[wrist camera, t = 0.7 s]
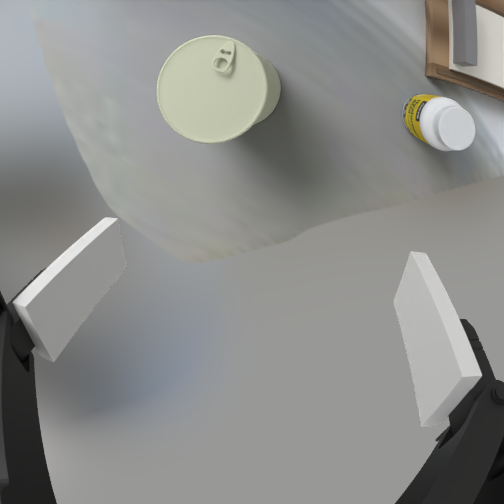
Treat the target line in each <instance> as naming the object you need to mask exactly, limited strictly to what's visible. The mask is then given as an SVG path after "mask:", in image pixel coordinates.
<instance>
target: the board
mask: <svg viewBox="0 0 504 504" xmlns="http://www.w3.org/2000/svg"><path fill="white" fill-rule="evenodd" d="M475 4H476V5H478V6H480V7H482V8H485V9H487V10H489V11H491V12H493V13H495V14H497V15H499V16H501V17H503V18H504V0H475ZM425 7H426V71H425V76H429V77H433V78H436V79H440V80H443V81H447V82H450V83H453V84H457V85H460V86H463V87H466V88H469V89H472V90H475V91H478V92H481V93H483V94H486V95H489V96H491V97H494V98H496V99H499V100H501V101H504V89H503V88H500V87H498V86H495V85H493V84H490V83H488V82H485V81H483V80H480V79H477V78H475V77H472V76H469V75H466V74H463V73H460V72H457V71H454V70H451V69H449V12H448V0H425Z"/></svg>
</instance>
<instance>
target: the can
mask: <svg viewBox="0 0 504 504" xmlns="http://www.w3.org/2000/svg"><path fill="white" fill-rule="evenodd" d="M280 92H281V84H280V79H279V76H278V73H277V71H276V69H275V68H274V66H273V65H272V64H271V63H270V62H269V61H268V60H267V59H266V58H265V57H263V56H262V55H260V54H258V53H255V52H253V51H252V50H251V49H250V48H249V47H248V46H247V45H245V44H243V43H242V42H240V41H238V40H236V39H233V38H230V37H226V36H220V35H209V36H202V37H198V38H195V39H192V40H190V41H188V42H186V43H184V44H183V45H181V46H180V47H179V48H177V49H176V50H175V51H174V52H173V53H172V54H171V55H170V56H169V57H168V59H167V60H166V62H165V63H164V65H163V67H162V69H161V71H160V74H159V78H158V82H157V100H158V105H159V108H160V111H161V113H162V115H163V117H164V118H165V120H166V122H167V123H168V124H169V125H170V127H171V128H172V129H173V130H175V131H176V132H177V133H178V134H180V135H181V136H183V137H185V138H187V139H189V140H191V141H195V142H198V143H205V144H217V143H223V142H227V141H230V140H233V139H235V138H237V137H239V136H241V135H242V134H244V133H245V132H246V131H248V130H249V129H250V128H251V127H252V126H253V125H254V124H257V123H259V122H261V121H262V120H264V119H265V118H266V117H268V116H269V115H270V114H271V113H272V111H273V110H274V109H275V107H276V105H277V103H278V101H279V97H280Z"/></svg>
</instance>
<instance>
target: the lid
mask: <svg viewBox="0 0 504 504" xmlns="http://www.w3.org/2000/svg"><path fill="white" fill-rule="evenodd" d="M448 12H449V69H451V70H454V71H457V72H460V73H463V74H466V75H469V76H472V77H475V78H477V79H480V80H483V81H485V82H488V83H490V84H493V85H495V86H498V87H500V88H503V89H504V18H503V17H501V16H499V15H497V14H495V13H493V12H491V11H489V10H487V9H485V8H482V7H480V6H478V5H476V4H475V0H448Z"/></svg>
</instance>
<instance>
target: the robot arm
mask: <svg viewBox="0 0 504 504" xmlns="http://www.w3.org/2000/svg"><path fill="white" fill-rule="evenodd" d="M126 268H127V265H126V260H125V255H124V250H123V245H122V239H121V233H120V228H119V222H118V219H117V218H104V219H103V220H101V221H100V222H99V223H98V224H97V225H95V226H94V227H93V228H92V229H91V230H90V231H88V232H87V233H86V234H85V235H83V236H82V237H81V238H80V239H79V240H78V241H76V242H75V243H74V244H73V245H72V246H71V247H70V248H68V249H67V250H66V251H65V252H64V253H63V254H62V255H61V256H60V257H59V258H57V259H56V260H55V261H54V262H53V263H52V264H51V265H50V266H49V267H47V268H45V269H44V270H42V271H40V272H39V273H38V274H37V275H36V276H35V277H34V279H33V280H31V281H30V282H29V283H28V285H26V286H25V287H24V288H23V289H22V290H21V291H20V292H19V293H18V294H17V295H16V296H15V297H14V298H13V299H12V300H11V301H10V302H9V303H8V304H7V305H6V303H5V301H4V298H3V296H2V294H1V292H0V504H57V503H56V499H55V496H54V492H53V489H52V485H51V481H50V477H49V472H48V468H47V464H46V459H45V454H44V448H43V443H42V437H41V431H40V424H39V417H38V408H37V398H36V387H35V371H34V356H33V354H32V352H31V350H32V349H33V348H34V346H35V347H36V349H37V351H38V352H39V354H40V356H41V357H43V358H45V359H48V360H50V361H52V362H54V361H55V360H56V359H57V357H58V356H59V354H60V353H61V352H62V350H63V349H64V347H65V346H66V344H67V343H68V342H69V341H70V339H71V338H72V337H73V335H74V334H75V333H76V331H77V330H78V329H79V327H80V326H81V325H82V323H83V322H84V321H85V319H86V318H87V317H88V315H89V314H90V313H91V312H92V310H93V309H94V308H95V306H96V305H97V304H98V302H99V301H100V300H101V299H102V298H103V296H104V295H105V294H106V293H107V291H108V290H109V289H110V288H111V287H112V285H113V284H114V283H115V282H116V280H117V279H118V278H119V277H120V276H121V274H122V273H123V272H124V271H125V270H126ZM393 303H394V306H395V310H396V313H397V317H398V320H399V324H400V328H401V332H402V336H403V340H404V344H405V348H406V352H407V357H408V361H409V365H410V370H411V375H412V379H413V384H414V389H415V394H416V399H417V405H418V411H419V417H420V423H421V427H425V426H437V425H440V424H441V423H442V422H443V421H444V420H445V419H446V418H447V417H448V416H449V421H450V426H449V427H448V428H447V429H446V430H445V431H444V432H443V433H442V434H441V435H440V436H439V437H438V438H437V439H436V441H439V442H438V444H437V445H436V447H435V448H434V450H433V452H432V453H431V455H430V456H429V458H428V459H427V461H426V463H425V464H424V465H423V467H422V468H421V470H420V471H419V473H418V474H417V475H416V477H415V478H414V480H413V481H412V482H411V484H410V485H409V486H408V488H407V489H406V490H405V492H404V493H403V494H402V496H401V497H400V498H399V499H398V500H397V502H396V503H395V504H504V382H502V381H499V380H496V379H495V377H494V374H493V372H492V369H491V366H490V364H489V361H488V359H487V357H486V354H485V352H484V350H483V347H482V345H481V342H480V341H479V338H478V336H477V333H476V331H475V329H474V328H473V327H472V325H471V324H470V323H469V322H468V321H467V320H466V319H459V317H458V315H457V313H456V311H455V309H454V307H453V305H452V303H451V300H450V298H449V296H448V294H447V292H446V290H445V288H444V286H443V284H442V282H441V280H440V279H439V277H438V275H437V273H436V271H435V269H434V267H433V265H432V264H431V262H430V260H429V258H428V256H427V255H426V253H420V252H413V251H411V252H410V255H409V258H408V261H407V264H406V267H405V270H404V273H403V276H402V279H401V282H400V284H399V287H398V290H397V293H396V296H395V299H394V301H393Z"/></svg>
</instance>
